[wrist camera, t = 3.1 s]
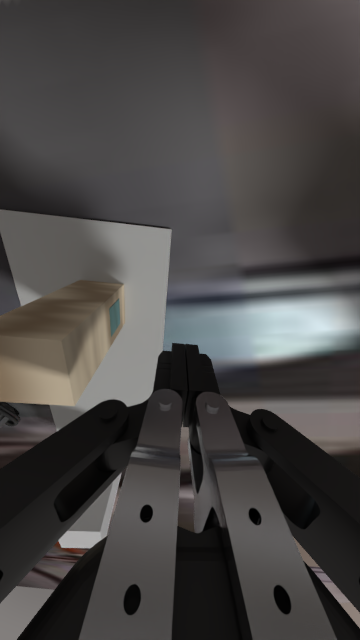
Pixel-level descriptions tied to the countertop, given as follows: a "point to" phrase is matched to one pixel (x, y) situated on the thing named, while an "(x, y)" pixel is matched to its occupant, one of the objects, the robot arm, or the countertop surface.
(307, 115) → the countertop surface
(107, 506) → the grey block
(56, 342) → the beech block
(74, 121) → the countertop surface
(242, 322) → the countertop surface
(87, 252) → the mat
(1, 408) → the walkie-talkie
